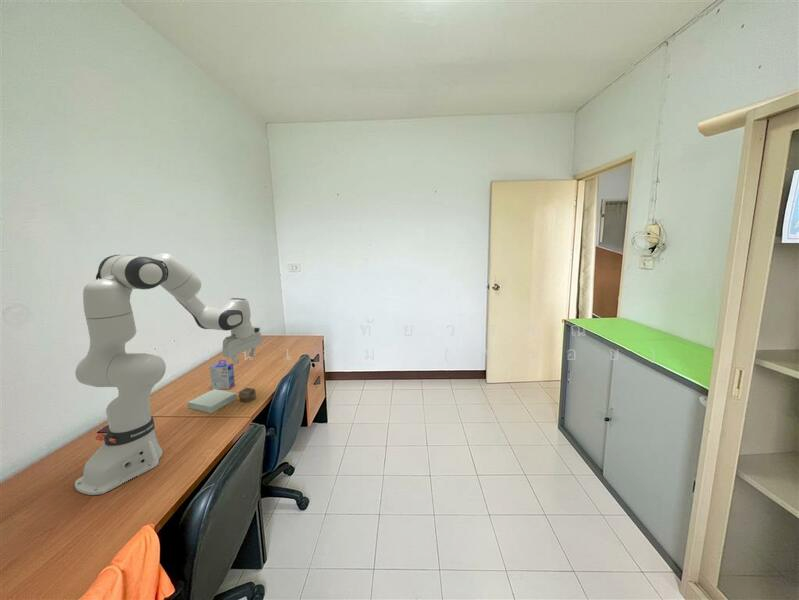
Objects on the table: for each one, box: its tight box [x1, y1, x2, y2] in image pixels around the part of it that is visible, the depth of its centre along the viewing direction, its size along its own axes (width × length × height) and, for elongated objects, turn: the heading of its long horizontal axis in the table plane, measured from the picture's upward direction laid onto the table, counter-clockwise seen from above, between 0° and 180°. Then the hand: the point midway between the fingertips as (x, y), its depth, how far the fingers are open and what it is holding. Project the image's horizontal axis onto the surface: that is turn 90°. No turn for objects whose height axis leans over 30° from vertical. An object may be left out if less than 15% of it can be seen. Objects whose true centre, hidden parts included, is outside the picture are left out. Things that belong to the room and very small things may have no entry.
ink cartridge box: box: [209, 359, 236, 390], centre depth 165 cm, size 10×6×14 cm, turn 89°
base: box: [187, 389, 237, 414], centre depth 149 cm, size 14×14×3 cm
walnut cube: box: [238, 387, 257, 404], centre depth 152 cm, size 5×5×5 cm
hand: (244, 360), depth 149 cm, fingers open, 8 cm apart
